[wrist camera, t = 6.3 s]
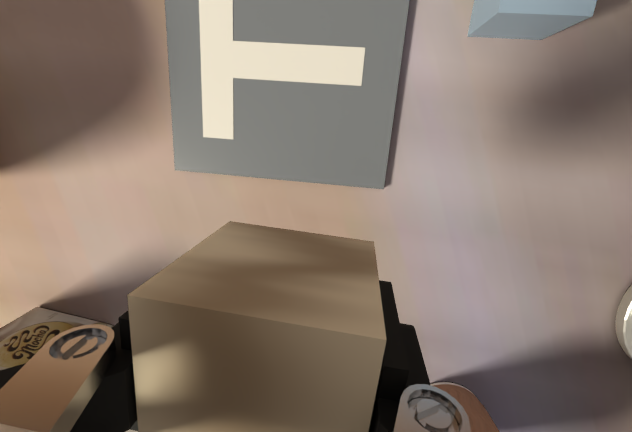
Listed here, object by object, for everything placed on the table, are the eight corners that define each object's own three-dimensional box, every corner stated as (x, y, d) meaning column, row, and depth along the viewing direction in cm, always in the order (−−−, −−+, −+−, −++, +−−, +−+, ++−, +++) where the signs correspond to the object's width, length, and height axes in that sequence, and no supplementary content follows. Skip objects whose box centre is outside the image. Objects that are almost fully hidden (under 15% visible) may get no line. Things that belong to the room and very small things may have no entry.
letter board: (418, -76, 21) (420, -82, 20) (383, 187, 26) (383, 189, 25) (164, -80, 22) (159, -86, 22) (178, 169, 27) (174, 170, 27)
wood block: (374, 241, 10) (386, 339, 6) (353, 364, 12) (349, 526, 7) (229, 221, 11) (127, 295, 6) (226, 341, 12) (142, 478, 7)
